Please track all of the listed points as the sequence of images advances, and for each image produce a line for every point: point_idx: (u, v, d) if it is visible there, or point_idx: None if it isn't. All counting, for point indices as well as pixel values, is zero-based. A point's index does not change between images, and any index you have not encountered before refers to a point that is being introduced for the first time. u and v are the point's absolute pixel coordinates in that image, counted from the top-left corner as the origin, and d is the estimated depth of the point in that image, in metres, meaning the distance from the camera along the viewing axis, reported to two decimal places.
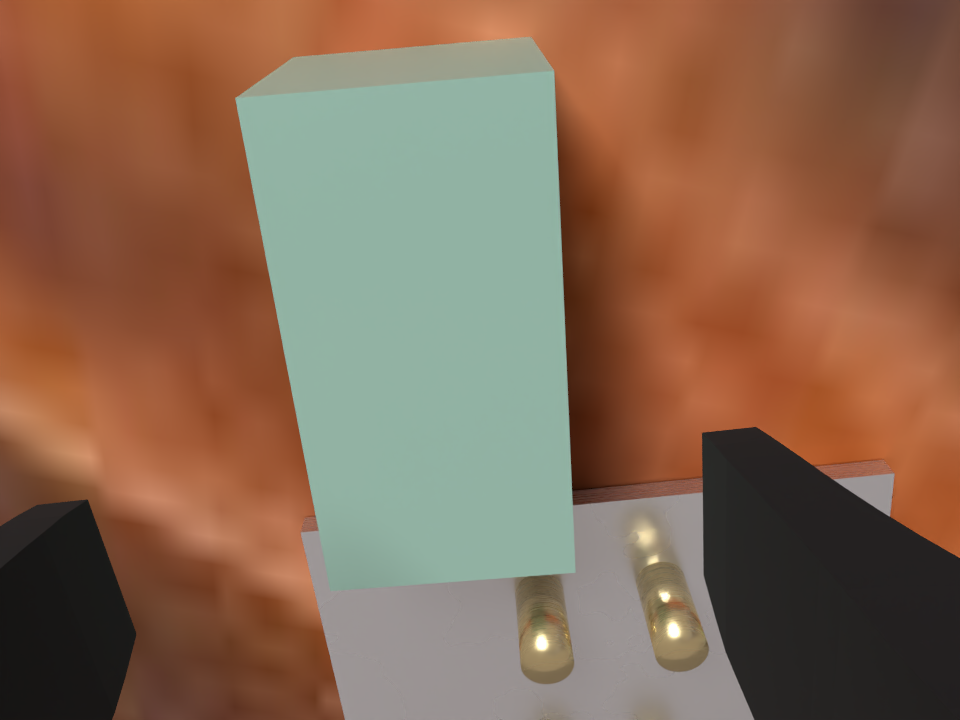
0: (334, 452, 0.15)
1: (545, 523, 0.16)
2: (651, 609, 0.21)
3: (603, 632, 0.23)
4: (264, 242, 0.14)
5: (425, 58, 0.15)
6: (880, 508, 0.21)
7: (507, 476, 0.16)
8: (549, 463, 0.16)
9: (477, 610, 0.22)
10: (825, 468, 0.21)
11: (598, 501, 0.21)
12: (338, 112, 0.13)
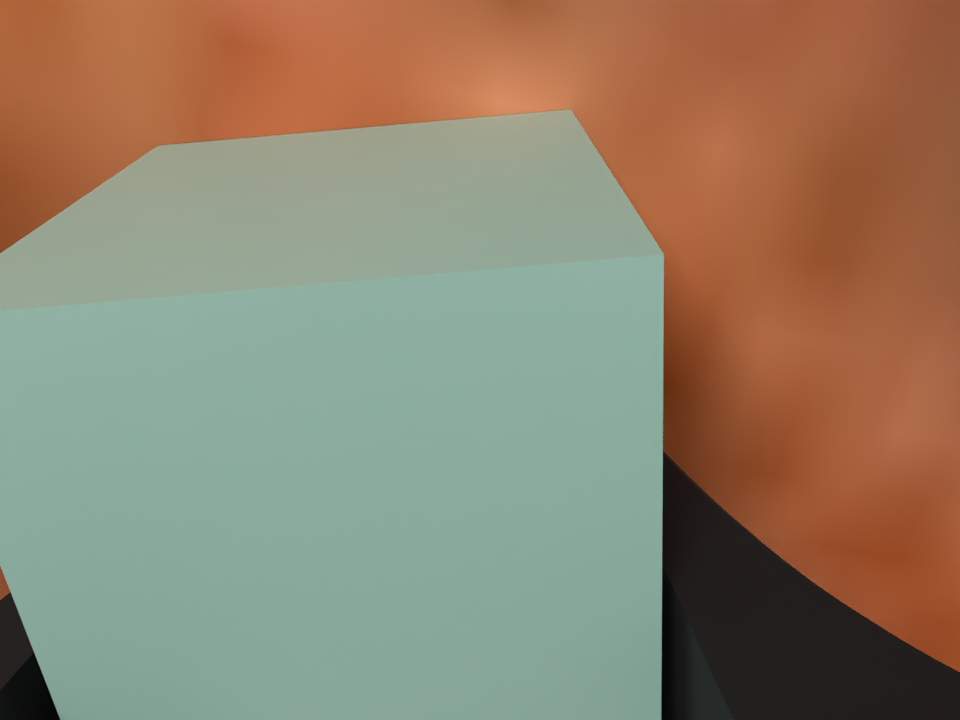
0: None
1: None
2: None
3: None
4: (18, 599, 0.06)
5: (377, 172, 0.08)
6: None
7: None
8: None
9: None
10: None
11: None
12: (151, 348, 0.06)
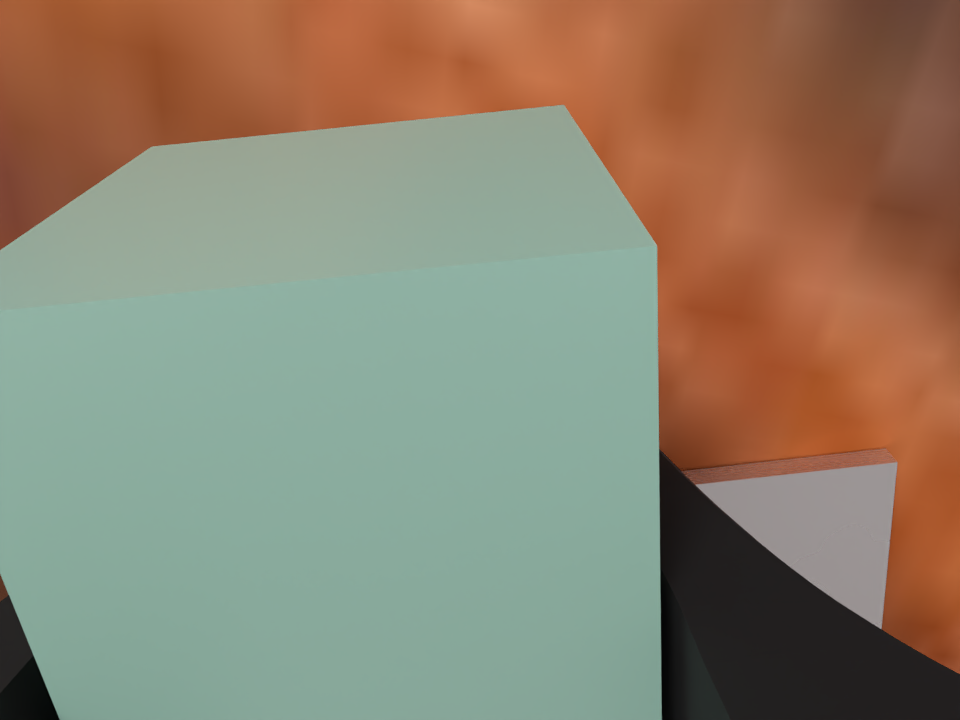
0: None
1: None
2: None
3: None
4: (15, 600, 0.06)
5: (370, 169, 0.08)
6: (883, 499, 0.20)
7: None
8: None
9: None
10: (826, 457, 0.20)
11: None
12: (146, 347, 0.06)
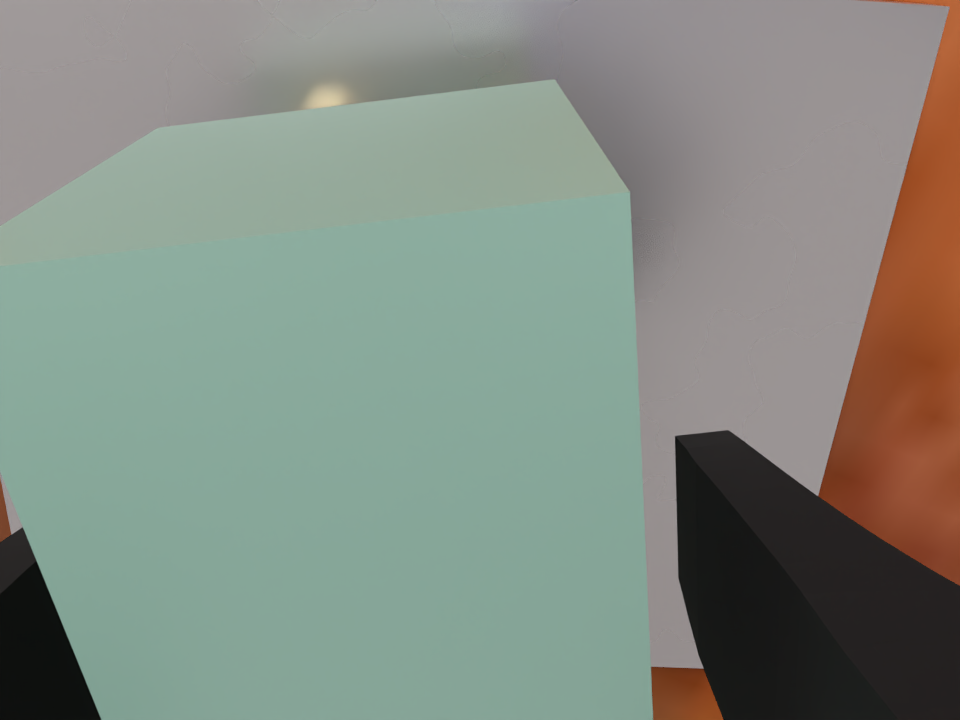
0: None
1: None
2: None
3: None
4: (34, 545, 0.07)
5: (365, 139, 0.08)
6: (913, 78, 0.13)
7: None
8: None
9: None
10: None
11: None
12: (151, 297, 0.06)
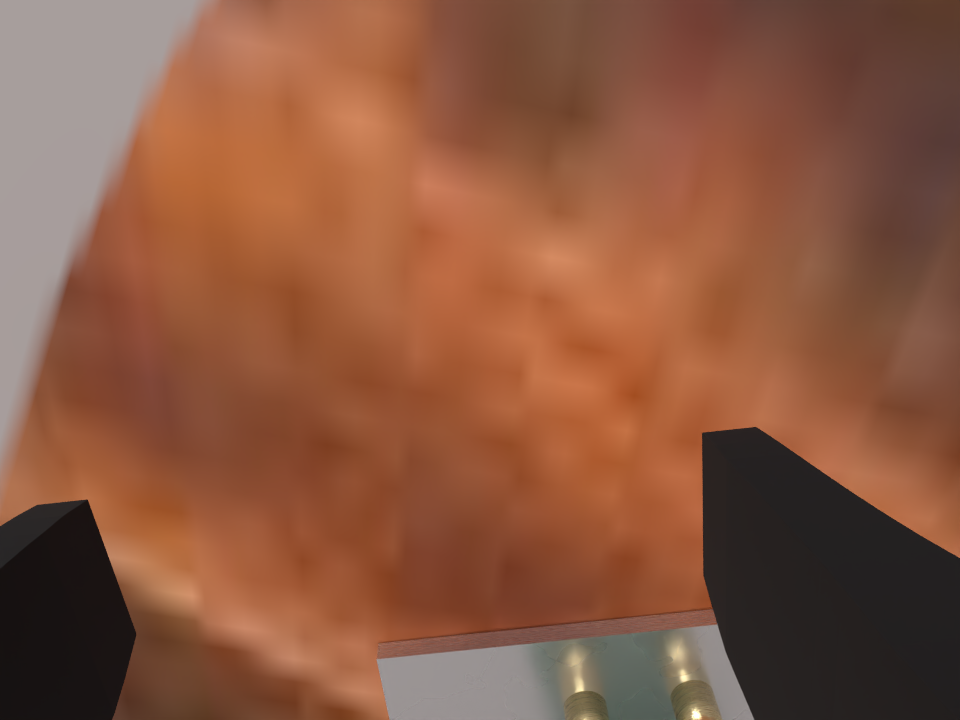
0: None
1: None
2: None
3: None
4: None
5: None
6: None
7: None
8: None
9: None
10: None
11: (638, 631, 0.24)
12: None
